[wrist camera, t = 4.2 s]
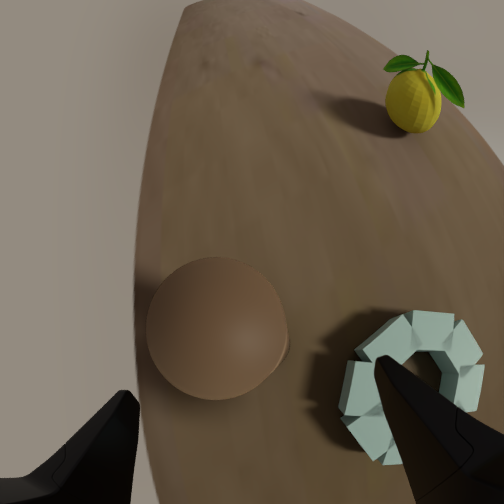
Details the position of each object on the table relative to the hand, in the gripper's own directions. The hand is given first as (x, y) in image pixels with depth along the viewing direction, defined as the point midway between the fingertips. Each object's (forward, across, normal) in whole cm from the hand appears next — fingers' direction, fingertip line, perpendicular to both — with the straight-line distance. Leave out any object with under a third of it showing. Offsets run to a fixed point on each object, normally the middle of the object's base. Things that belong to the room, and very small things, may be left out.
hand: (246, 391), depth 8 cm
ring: (+4, -10, +10) cm, 14 cm away
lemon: (+20, -18, -6) cm, 28 cm away
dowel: (+8, 0, +6) cm, 10 cm away
